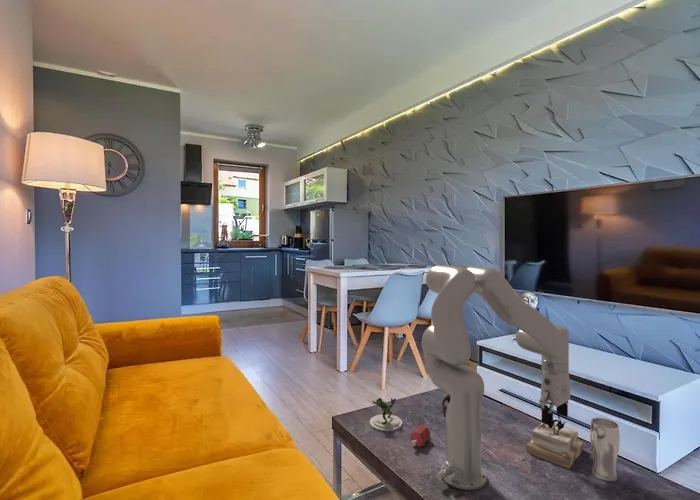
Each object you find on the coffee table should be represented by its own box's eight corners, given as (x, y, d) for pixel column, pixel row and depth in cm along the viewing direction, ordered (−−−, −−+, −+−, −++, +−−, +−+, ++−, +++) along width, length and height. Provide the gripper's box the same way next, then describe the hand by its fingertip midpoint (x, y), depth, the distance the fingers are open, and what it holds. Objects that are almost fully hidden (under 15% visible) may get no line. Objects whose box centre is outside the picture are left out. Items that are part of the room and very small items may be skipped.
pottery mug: (474, 418, 145) (466, 403, 143) (451, 430, 145) (444, 414, 143) (460, 398, 157) (453, 383, 154) (440, 408, 157) (432, 394, 154)
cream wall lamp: (568, 470, 113) (568, 446, 112) (526, 453, 121) (526, 432, 121) (583, 451, 122) (583, 429, 122) (543, 437, 131) (543, 417, 131)
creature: (543, 440, 118) (571, 436, 116) (539, 423, 118) (566, 419, 116) (535, 428, 125) (560, 424, 124) (531, 412, 125) (557, 408, 124)
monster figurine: (363, 420, 144) (363, 393, 144) (390, 413, 150) (390, 387, 149) (380, 435, 133) (380, 406, 133) (409, 427, 139) (408, 398, 139)
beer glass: (625, 479, 107) (626, 426, 107) (606, 484, 105) (606, 430, 105) (602, 465, 114) (603, 415, 113) (584, 470, 112) (584, 419, 111)
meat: (421, 452, 121) (417, 436, 122) (408, 451, 124) (403, 436, 125) (436, 435, 131) (432, 421, 132) (423, 435, 134) (419, 421, 134)
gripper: (554, 375, 112) (553, 432, 113) (579, 363, 123) (579, 415, 123) (529, 368, 118) (529, 423, 119) (555, 357, 129) (555, 407, 129)
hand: (554, 419), depth 121 cm, fingers open, 9 cm apart
